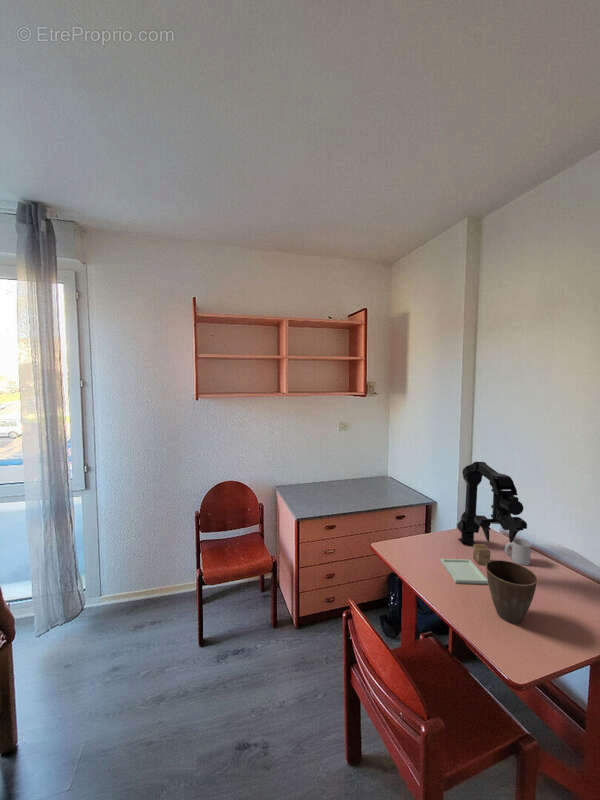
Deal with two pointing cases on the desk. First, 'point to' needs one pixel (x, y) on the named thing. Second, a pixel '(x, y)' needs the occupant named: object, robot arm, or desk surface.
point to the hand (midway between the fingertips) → (499, 541)
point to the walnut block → (481, 554)
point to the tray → (464, 571)
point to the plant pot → (511, 589)
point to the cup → (519, 551)
